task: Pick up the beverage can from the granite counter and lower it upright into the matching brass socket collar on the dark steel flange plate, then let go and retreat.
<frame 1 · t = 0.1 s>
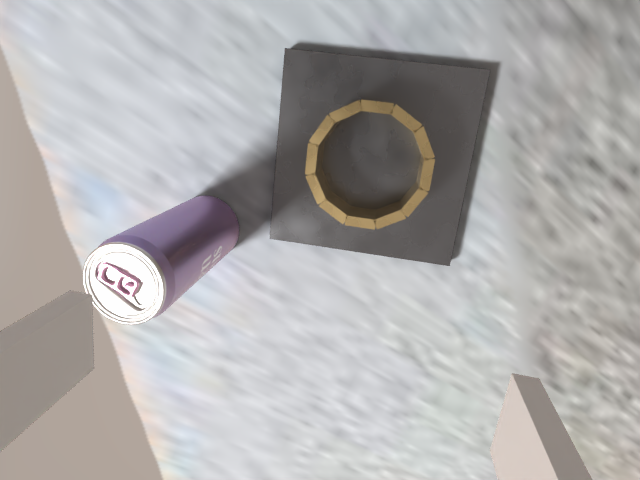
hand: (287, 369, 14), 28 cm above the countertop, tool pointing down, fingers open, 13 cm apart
pipe socket: (371, 159, 40), on the countertop
beverage can: (211, 224, 44), on the countertop
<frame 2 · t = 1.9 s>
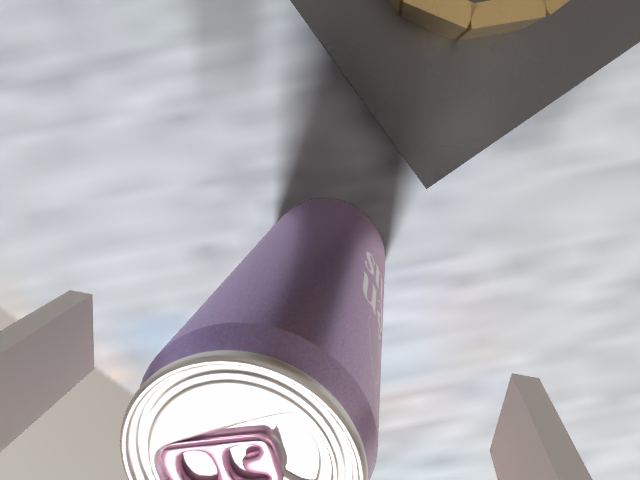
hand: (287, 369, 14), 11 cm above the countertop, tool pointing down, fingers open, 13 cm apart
beverage can: (328, 250, 24), on the countertop
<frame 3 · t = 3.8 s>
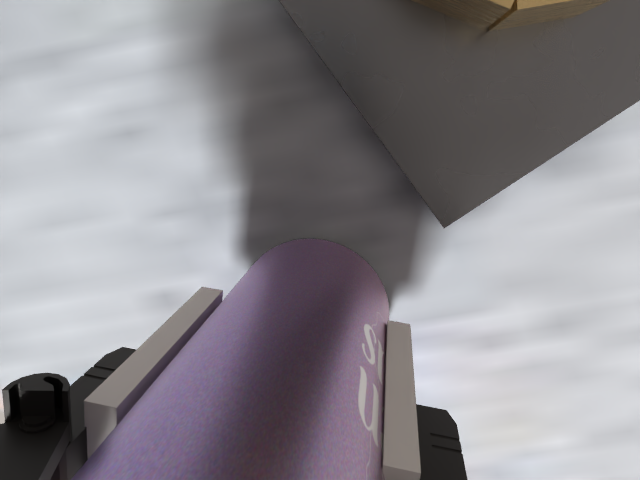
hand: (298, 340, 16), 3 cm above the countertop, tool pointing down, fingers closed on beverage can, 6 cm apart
beverage can: (316, 301, 19), on the countertop, touching gripper
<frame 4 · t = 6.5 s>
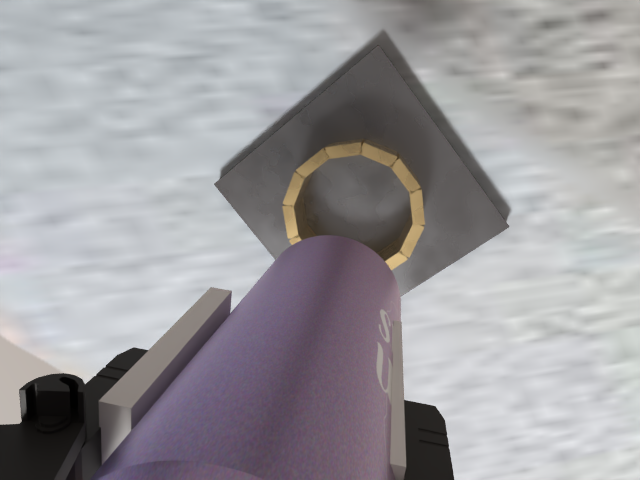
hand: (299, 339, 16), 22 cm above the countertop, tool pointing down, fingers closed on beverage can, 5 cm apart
pipe socket: (357, 201, 36), on the countertop
beverage can: (333, 293, 21), point 17 cm above the countertop, touching gripper
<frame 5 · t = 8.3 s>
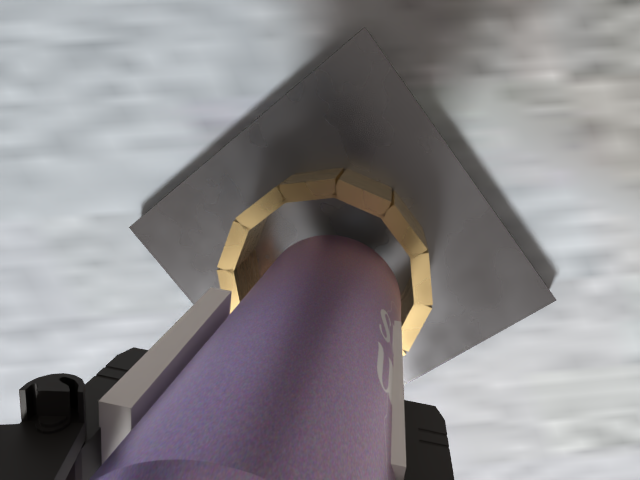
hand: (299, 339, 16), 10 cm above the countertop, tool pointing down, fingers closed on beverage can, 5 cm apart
pipe socket: (334, 254, 25), on the countertop
beverage can: (334, 293, 21), point 5 cm above the countertop, touching gripper
when the fingers open (6 cm above the countertop, at t = 10.0 s): beverage can stays where it is, resting on pipe socket.
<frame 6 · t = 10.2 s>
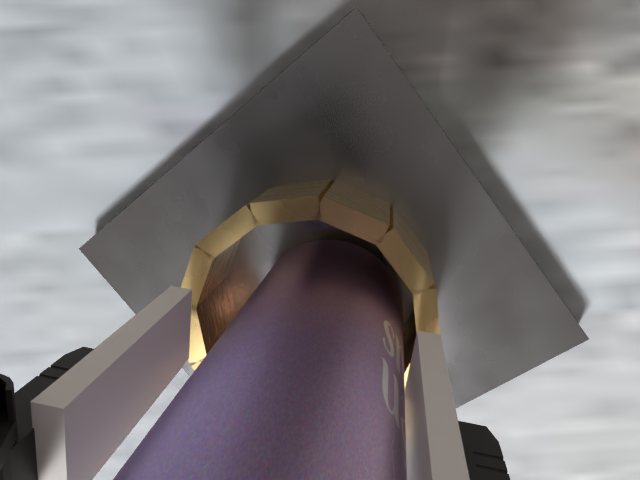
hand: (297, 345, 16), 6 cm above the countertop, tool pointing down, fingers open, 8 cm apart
pipe socket: (322, 281, 21), on the countertop
beverage can: (333, 298, 20), point 1 cm above the countertop, touching pipe socket
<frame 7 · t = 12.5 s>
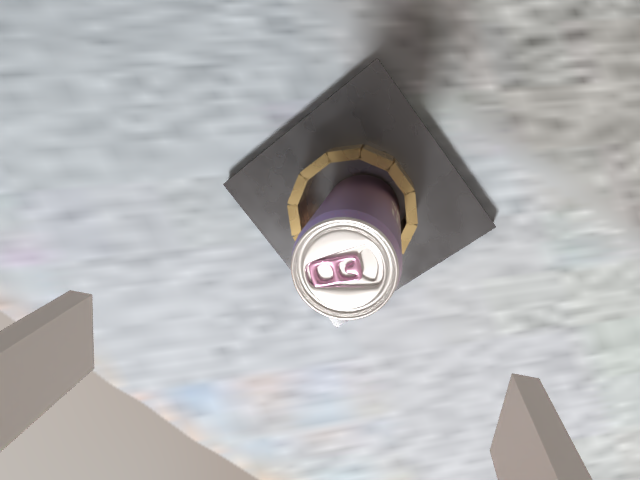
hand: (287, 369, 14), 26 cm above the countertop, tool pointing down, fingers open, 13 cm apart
pipe socket: (356, 201, 39), on the countertop
beverage can: (362, 209, 38), point 1 cm above the countertop, touching pipe socket
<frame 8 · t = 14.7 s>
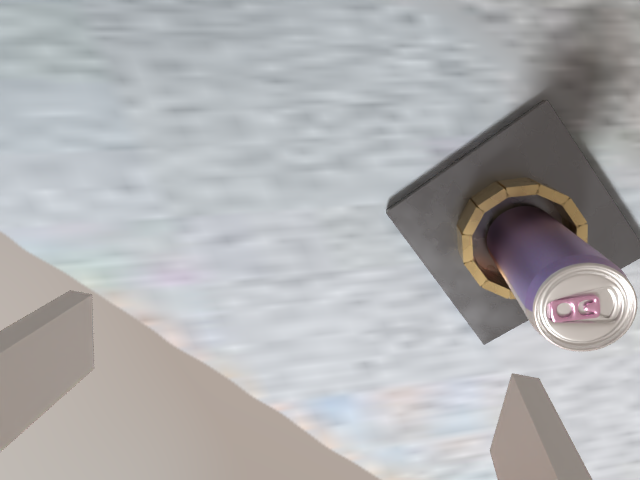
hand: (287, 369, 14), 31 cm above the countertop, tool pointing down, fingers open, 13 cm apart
pipe socket: (510, 229, 42), on the countertop
beverage can: (519, 236, 41), point 1 cm above the countertop, touching pipe socket
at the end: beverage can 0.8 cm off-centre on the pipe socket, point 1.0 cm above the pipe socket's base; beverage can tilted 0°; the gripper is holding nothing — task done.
